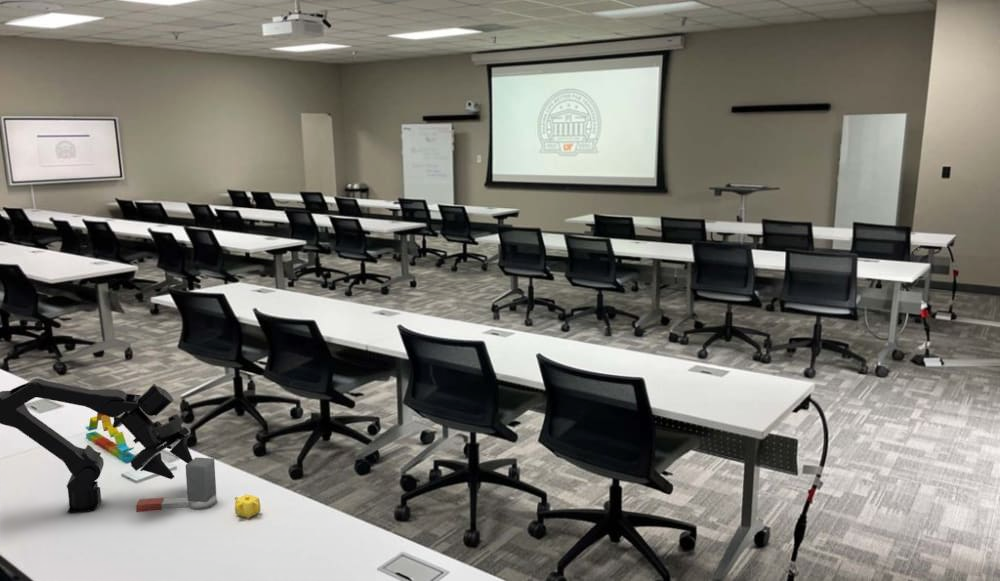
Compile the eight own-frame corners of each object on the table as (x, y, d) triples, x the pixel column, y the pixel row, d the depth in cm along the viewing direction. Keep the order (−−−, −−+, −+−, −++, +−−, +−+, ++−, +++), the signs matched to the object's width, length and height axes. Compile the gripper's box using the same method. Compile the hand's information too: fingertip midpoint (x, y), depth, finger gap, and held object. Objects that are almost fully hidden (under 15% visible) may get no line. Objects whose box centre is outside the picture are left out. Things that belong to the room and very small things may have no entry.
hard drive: (161, 459, 221) (120, 472, 211) (176, 465, 217) (135, 479, 207) (162, 464, 222) (121, 478, 212) (177, 470, 217) (136, 485, 207)
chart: (136, 461, 223) (133, 414, 220) (126, 464, 220) (122, 417, 218) (96, 436, 242) (93, 393, 240) (86, 439, 240) (82, 395, 237)
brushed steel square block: (187, 500, 192) (185, 465, 191) (198, 492, 198) (195, 457, 196) (206, 502, 192) (204, 466, 190) (216, 493, 197) (214, 458, 195)
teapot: (225, 516, 188) (224, 498, 187) (242, 507, 193) (241, 489, 192) (248, 524, 185) (247, 505, 184) (265, 514, 190) (264, 496, 189)
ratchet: (134, 515, 188) (133, 500, 188) (141, 503, 195) (140, 488, 194) (214, 508, 192) (213, 494, 192) (218, 497, 199) (217, 482, 198)
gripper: (139, 421, 183) (181, 466, 183) (181, 398, 201) (220, 439, 201) (112, 448, 185) (154, 492, 185) (156, 423, 203) (195, 464, 204)
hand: (182, 470), depth 194 cm, fingers open, 9 cm apart
